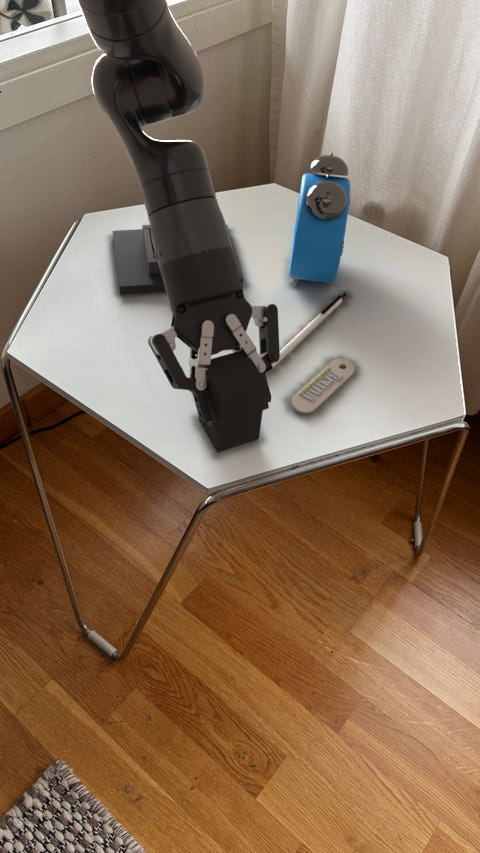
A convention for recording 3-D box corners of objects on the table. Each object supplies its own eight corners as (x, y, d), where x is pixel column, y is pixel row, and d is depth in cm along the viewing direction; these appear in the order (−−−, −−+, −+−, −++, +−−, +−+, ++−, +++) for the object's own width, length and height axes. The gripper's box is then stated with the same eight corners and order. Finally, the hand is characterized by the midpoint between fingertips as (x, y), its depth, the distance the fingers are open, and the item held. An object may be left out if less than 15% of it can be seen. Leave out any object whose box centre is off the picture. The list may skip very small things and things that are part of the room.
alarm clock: (292, 240, 100) (307, 139, 89) (336, 245, 100) (356, 145, 89) (285, 299, 92) (300, 197, 80) (332, 305, 92) (354, 203, 80)
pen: (347, 298, 93) (349, 291, 92) (263, 378, 83) (264, 372, 82) (341, 295, 93) (343, 288, 92) (257, 375, 83) (258, 368, 82)
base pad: (119, 294, 90) (118, 274, 88) (113, 237, 98) (111, 218, 95) (242, 285, 93) (244, 266, 91) (226, 231, 101) (228, 212, 98)
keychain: (339, 352, 85) (359, 365, 84) (338, 356, 86) (358, 368, 84) (286, 400, 80) (307, 414, 78) (285, 403, 80) (307, 417, 79)
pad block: (216, 453, 75) (220, 396, 68) (198, 419, 78) (200, 361, 71) (259, 439, 77) (267, 382, 70) (239, 406, 79) (245, 349, 72)
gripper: (134, 263, 65) (184, 440, 67) (273, 231, 69) (315, 398, 72) (118, 275, 72) (164, 435, 74) (245, 245, 76) (284, 397, 79)
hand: (238, 416), depth 73 cm, fingers closed on pad block, 5 cm apart
